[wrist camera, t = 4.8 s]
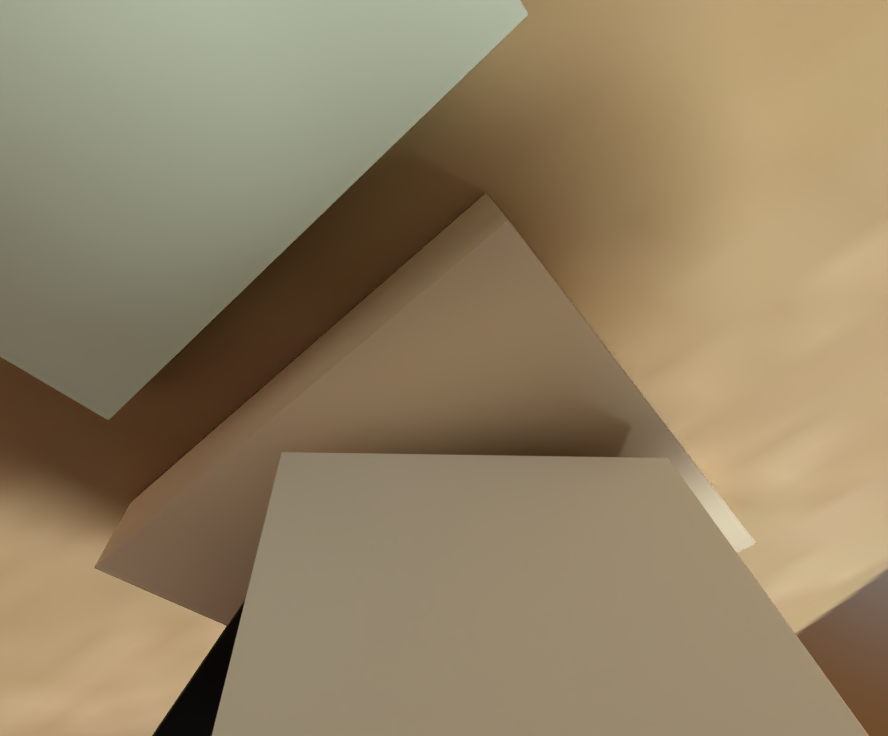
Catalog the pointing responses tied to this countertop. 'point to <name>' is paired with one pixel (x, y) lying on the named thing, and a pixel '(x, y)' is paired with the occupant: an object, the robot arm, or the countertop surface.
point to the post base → (402, 408)
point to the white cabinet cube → (509, 607)
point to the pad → (190, 157)
